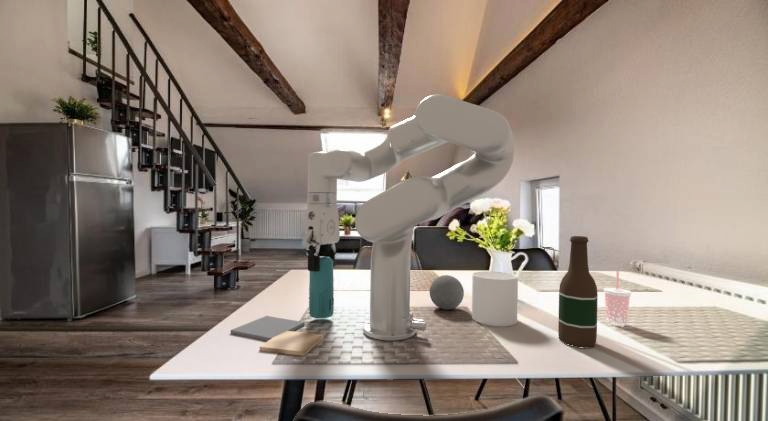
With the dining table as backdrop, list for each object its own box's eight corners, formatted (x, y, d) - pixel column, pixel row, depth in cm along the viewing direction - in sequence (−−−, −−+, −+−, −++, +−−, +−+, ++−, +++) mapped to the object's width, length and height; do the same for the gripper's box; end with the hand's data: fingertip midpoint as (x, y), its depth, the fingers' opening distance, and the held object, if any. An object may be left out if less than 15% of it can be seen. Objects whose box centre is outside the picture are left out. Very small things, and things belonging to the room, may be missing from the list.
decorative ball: (463, 305, 109) (463, 273, 109) (463, 315, 100) (464, 279, 99) (430, 303, 111) (431, 271, 111) (427, 312, 102) (428, 277, 101)
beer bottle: (582, 351, 75) (584, 238, 75) (550, 339, 82) (552, 235, 82) (604, 345, 79) (607, 237, 79) (572, 334, 86) (574, 234, 86)
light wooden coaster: (323, 338, 81) (323, 334, 81) (304, 355, 71) (304, 351, 71) (283, 333, 83) (283, 330, 83) (259, 350, 73) (259, 346, 73)
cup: (468, 323, 93) (469, 277, 93) (474, 311, 104) (475, 270, 104) (516, 329, 89) (517, 281, 89) (517, 316, 100) (518, 273, 99)
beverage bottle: (331, 324, 90) (332, 245, 90) (305, 324, 90) (306, 245, 90) (335, 316, 96) (336, 243, 96) (311, 316, 96) (311, 242, 96)
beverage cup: (626, 329, 90) (627, 274, 89) (599, 323, 94) (600, 270, 94) (633, 324, 94) (634, 271, 93) (607, 319, 98) (608, 268, 98)
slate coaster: (304, 325, 89) (304, 322, 89) (271, 341, 78) (271, 338, 78) (266, 318, 94) (266, 315, 94) (230, 333, 83) (230, 330, 83)
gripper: (315, 199, 83) (314, 275, 84) (350, 201, 99) (350, 265, 100) (289, 199, 86) (288, 273, 86) (327, 200, 102) (327, 263, 102)
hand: (321, 268), depth 93 cm, fingers closed on beverage bottle, 6 cm apart
